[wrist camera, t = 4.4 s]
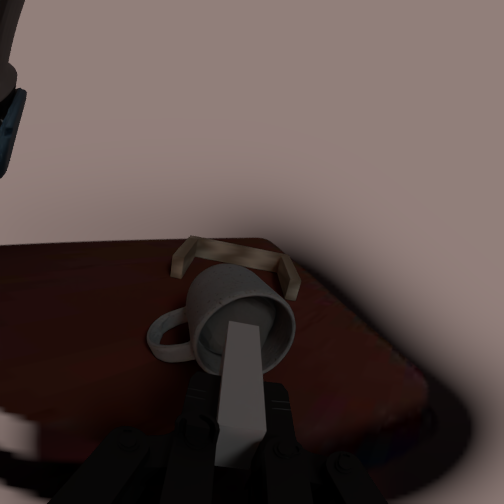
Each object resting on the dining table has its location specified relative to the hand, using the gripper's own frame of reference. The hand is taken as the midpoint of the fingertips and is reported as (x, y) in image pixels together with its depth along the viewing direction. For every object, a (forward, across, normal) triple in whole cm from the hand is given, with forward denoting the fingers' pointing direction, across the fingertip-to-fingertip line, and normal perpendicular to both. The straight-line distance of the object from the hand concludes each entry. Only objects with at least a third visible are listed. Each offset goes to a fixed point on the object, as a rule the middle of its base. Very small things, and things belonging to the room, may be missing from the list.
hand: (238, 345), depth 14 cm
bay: (+28, 0, -6) cm, 29 cm away
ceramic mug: (+8, -1, -7) cm, 10 cm away
